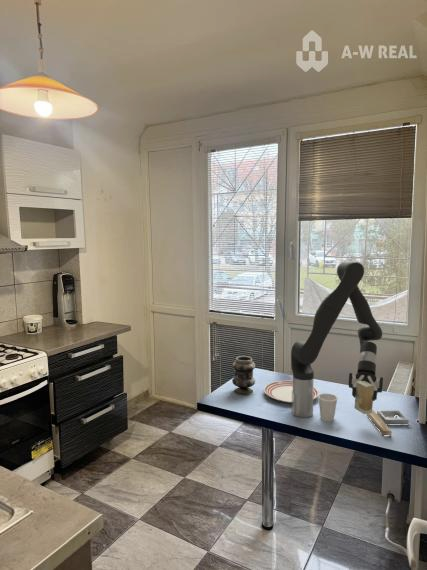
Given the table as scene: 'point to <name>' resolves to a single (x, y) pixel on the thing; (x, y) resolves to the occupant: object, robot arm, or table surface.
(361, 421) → the table surface
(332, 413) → the dixie cup
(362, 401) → the skincare box
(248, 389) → the dark carved vase
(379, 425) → the sill
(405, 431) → the table surface
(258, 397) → the table surface
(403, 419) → the tray
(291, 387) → the dinner plate
